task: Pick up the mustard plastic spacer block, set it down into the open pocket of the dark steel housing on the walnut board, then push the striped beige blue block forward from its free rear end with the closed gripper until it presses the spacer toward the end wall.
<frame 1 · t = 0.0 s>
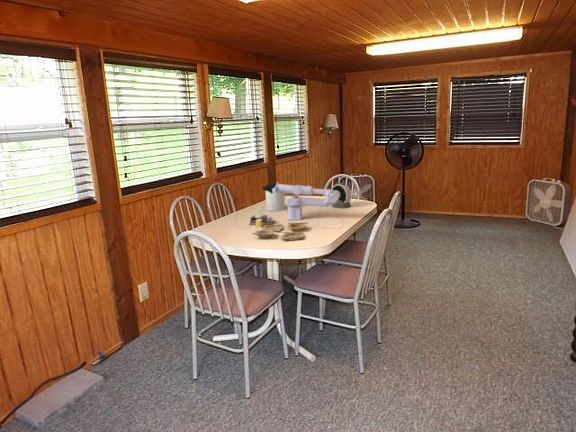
hand: (264, 187, 284), 22 cm above the table, fingers open, 7 cm apart
tableware set: (281, 234, 249), on the table
board: (262, 223, 275), on the table
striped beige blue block: (266, 219, 274), point 3 cm above the table, slide at 0.0 cm
spacer: (259, 226, 268), on the table
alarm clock: (341, 207, 316), on the table
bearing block: (264, 223, 275), resting on board
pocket: (257, 223, 276), resting on board
utensil holder: (276, 209, 317), on the table
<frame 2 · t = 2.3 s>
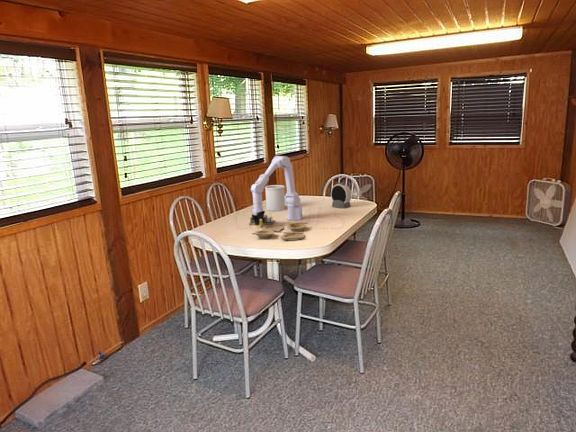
hand: (259, 223, 267), 2 cm above the table, fingers open, 7 cm apart
nothing on the table moved.
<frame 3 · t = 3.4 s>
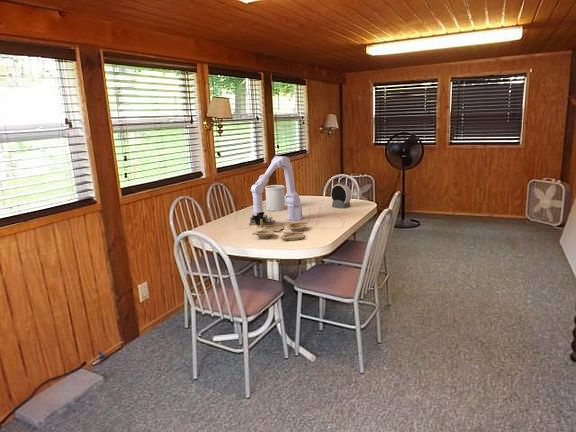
hand: (259, 224, 267), 1 cm above the table, fingers closed on spacer, 4 cm apart
spacer: (259, 226, 268), on the table, touching gripper
everything else where it was.
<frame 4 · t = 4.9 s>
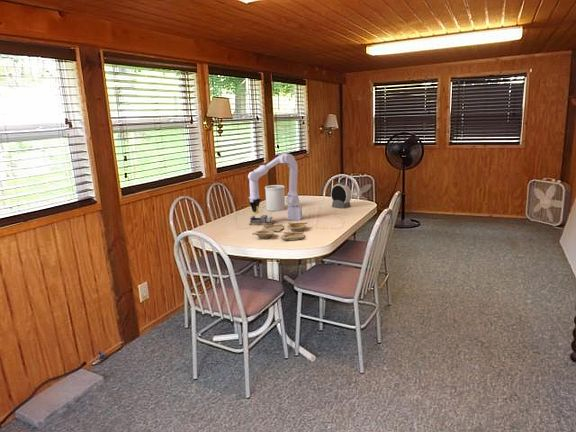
hand: (255, 211, 274), 8 cm above the table, fingers closed on spacer, 4 cm apart
spacer: (255, 213, 275), point 7 cm above the table, touching gripper
everything else where it was.
when the fingers open (4 cm above the table, at t = 6.5 s): spacer drops 1 cm, resting on board.
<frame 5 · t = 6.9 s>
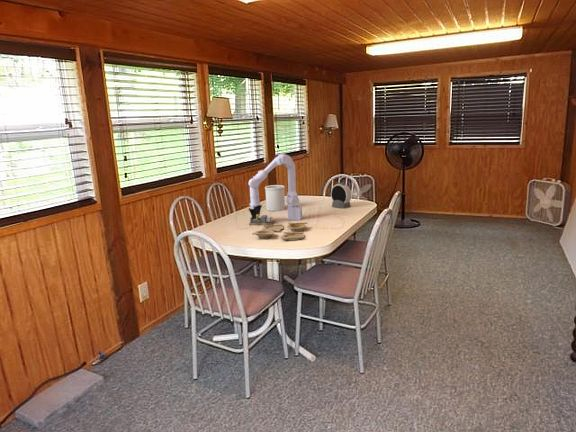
hand: (256, 217, 275), 4 cm above the table, fingers open, 7 cm apart
spacer: (256, 221, 276), point 1 cm above the table, touching board
everything else where it was.
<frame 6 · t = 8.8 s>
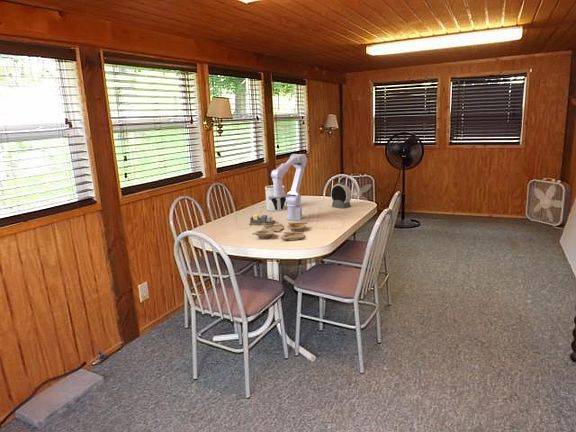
hand: (279, 209, 270), 9 cm above the table, fingers open, 3 cm apart
nothing on the table moved.
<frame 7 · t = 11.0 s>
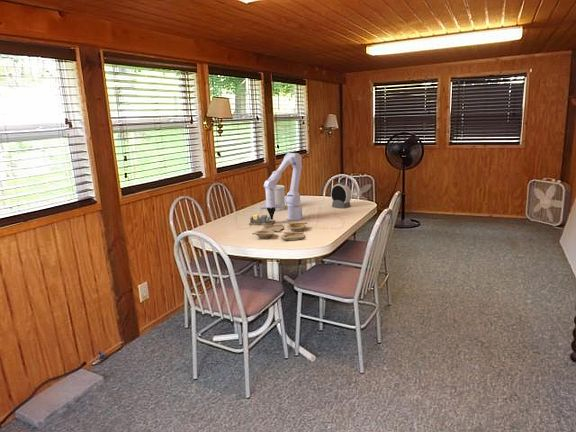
hand: (271, 219, 273), 3 cm above the table, fingers closed
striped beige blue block: (264, 219, 274), point 3 cm above the table, slide at 1.5 cm, touching gripper
everything else where it was.
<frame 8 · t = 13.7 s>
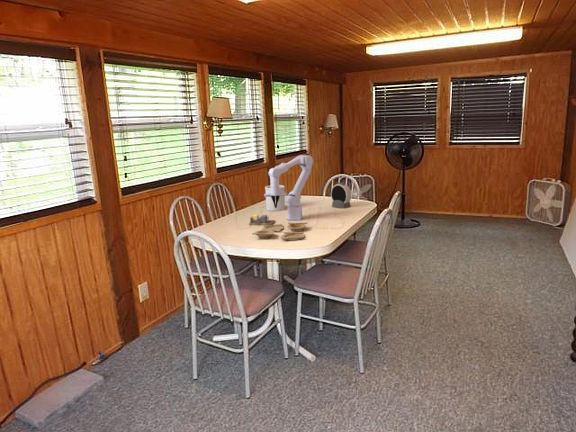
hand: (275, 207, 275), 10 cm above the table, fingers closed
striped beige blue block: (263, 219, 274), point 3 cm above the table, slide at 2.5 cm, touching spacer
spacer: (255, 221, 276), point 1 cm above the table, touching board, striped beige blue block
everything else where it was.
at the end: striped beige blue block slide at 2.5 cm; spacer 0.0 cm from the target spot, point 1.0 cm above the table; spacer tilted 0° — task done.
